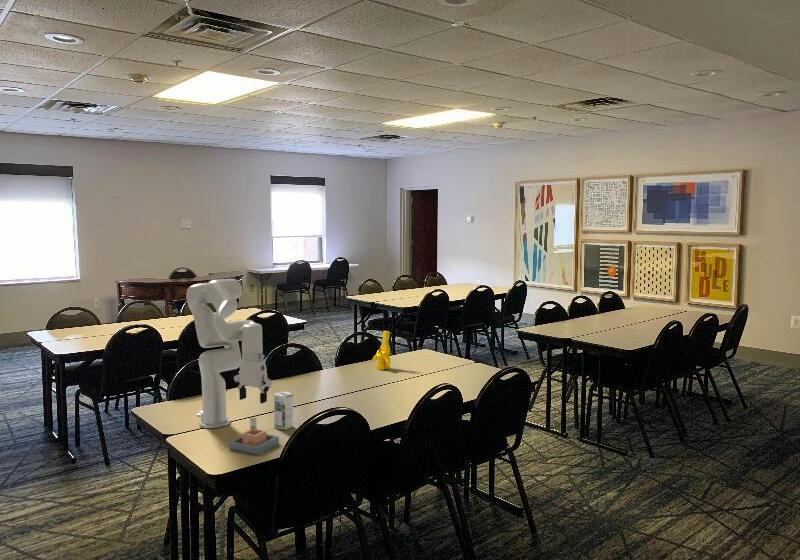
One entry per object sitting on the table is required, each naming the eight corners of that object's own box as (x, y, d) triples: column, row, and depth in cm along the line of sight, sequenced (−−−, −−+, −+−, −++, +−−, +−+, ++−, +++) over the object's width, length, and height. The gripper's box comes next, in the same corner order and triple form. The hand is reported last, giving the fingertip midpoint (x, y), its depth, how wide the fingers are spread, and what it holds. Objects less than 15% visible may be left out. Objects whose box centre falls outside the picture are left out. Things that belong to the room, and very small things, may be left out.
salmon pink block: (253, 440, 236) (252, 428, 236) (266, 443, 234) (266, 430, 233) (239, 448, 229) (238, 435, 228) (252, 450, 226) (252, 437, 226)
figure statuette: (368, 367, 357) (368, 330, 355) (379, 365, 362) (379, 328, 360) (387, 373, 343) (387, 334, 341) (397, 370, 348) (398, 332, 346)
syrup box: (273, 427, 253) (273, 393, 252) (284, 423, 258) (283, 390, 257) (283, 430, 250) (283, 396, 249) (293, 426, 255) (293, 392, 254)
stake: (249, 433, 247) (248, 419, 246) (253, 431, 249) (252, 417, 248) (254, 434, 246) (253, 420, 245) (257, 432, 248) (257, 418, 247)
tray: (229, 450, 229) (229, 442, 229) (251, 438, 241) (251, 431, 241) (257, 455, 224) (257, 447, 223) (278, 444, 235) (278, 436, 235)
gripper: (277, 356, 229) (277, 401, 230) (240, 352, 236) (241, 395, 238) (264, 361, 222) (265, 406, 224) (227, 356, 229) (228, 400, 231)
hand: (253, 400), depth 231 cm, fingers open, 9 cm apart
